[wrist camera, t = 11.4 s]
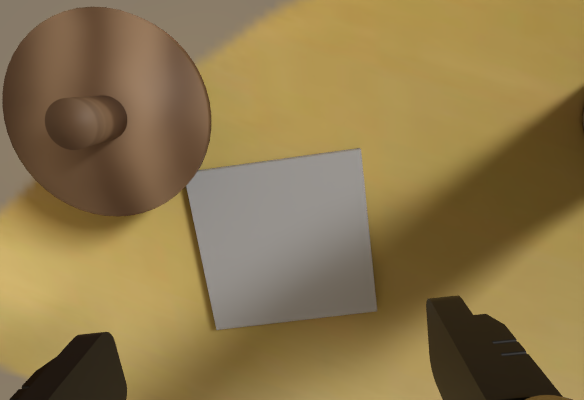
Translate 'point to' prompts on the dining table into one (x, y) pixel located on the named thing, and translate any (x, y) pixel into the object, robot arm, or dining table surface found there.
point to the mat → (284, 239)
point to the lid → (106, 111)
